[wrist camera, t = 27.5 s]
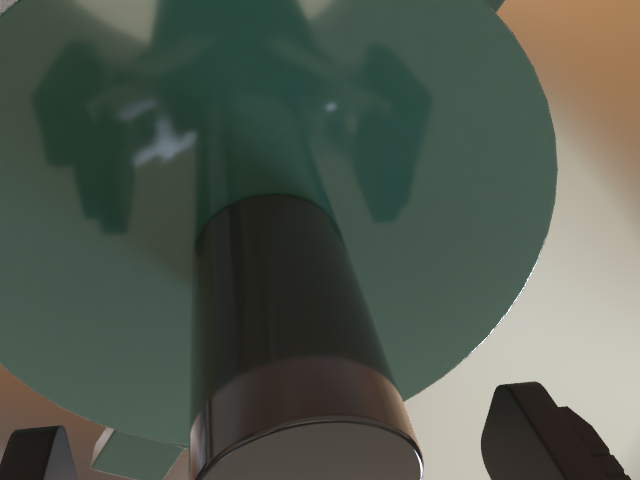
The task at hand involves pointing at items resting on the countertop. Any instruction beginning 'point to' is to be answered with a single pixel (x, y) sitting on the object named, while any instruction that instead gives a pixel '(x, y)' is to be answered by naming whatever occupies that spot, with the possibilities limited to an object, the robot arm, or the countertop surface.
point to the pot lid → (264, 218)
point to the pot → (146, 454)
